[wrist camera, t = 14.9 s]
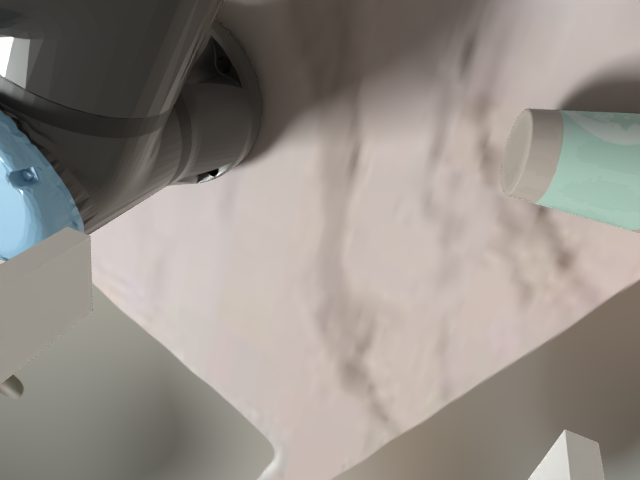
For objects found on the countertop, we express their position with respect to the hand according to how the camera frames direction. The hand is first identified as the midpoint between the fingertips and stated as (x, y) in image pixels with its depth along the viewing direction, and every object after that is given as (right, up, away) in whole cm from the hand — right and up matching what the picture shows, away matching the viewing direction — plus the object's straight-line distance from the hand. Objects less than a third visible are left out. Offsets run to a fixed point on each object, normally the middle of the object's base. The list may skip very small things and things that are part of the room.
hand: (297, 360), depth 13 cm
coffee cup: (+14, +9, +21) cm, 26 cm away
